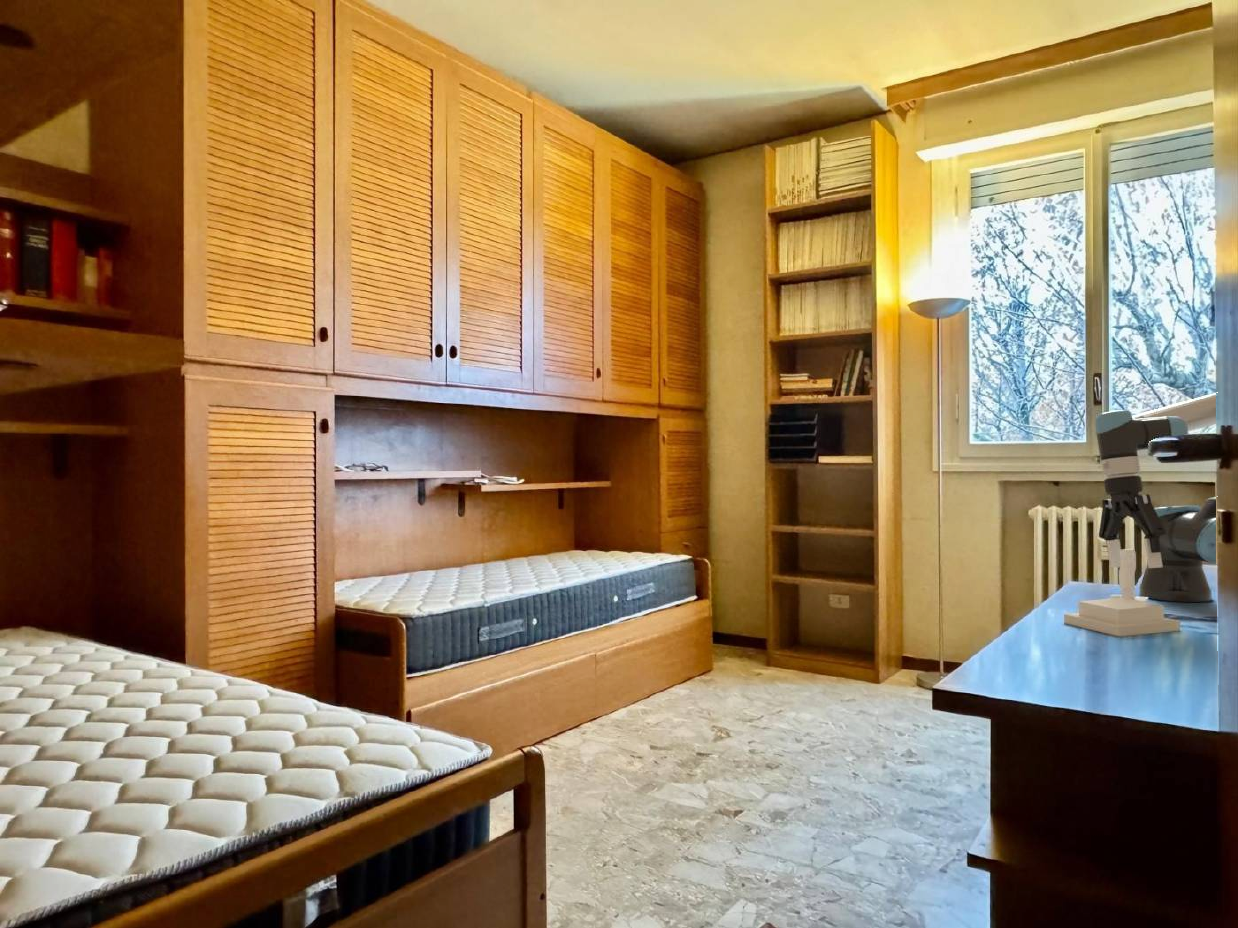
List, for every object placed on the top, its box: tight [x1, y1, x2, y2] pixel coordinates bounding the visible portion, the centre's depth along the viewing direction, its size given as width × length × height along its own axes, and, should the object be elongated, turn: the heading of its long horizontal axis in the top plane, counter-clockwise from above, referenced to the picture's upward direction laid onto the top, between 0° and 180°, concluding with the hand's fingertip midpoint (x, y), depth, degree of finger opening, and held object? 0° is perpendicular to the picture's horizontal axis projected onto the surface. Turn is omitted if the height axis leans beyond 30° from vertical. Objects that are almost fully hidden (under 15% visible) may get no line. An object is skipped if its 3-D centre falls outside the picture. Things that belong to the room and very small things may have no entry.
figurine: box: [1107, 548, 1150, 602], centre depth 185 cm, size 7×9×15 cm
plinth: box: [1063, 598, 1181, 637], centre depth 172 cm, size 16×14×5 cm
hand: (1135, 567), depth 186 cm, fingers open, 13 cm apart
